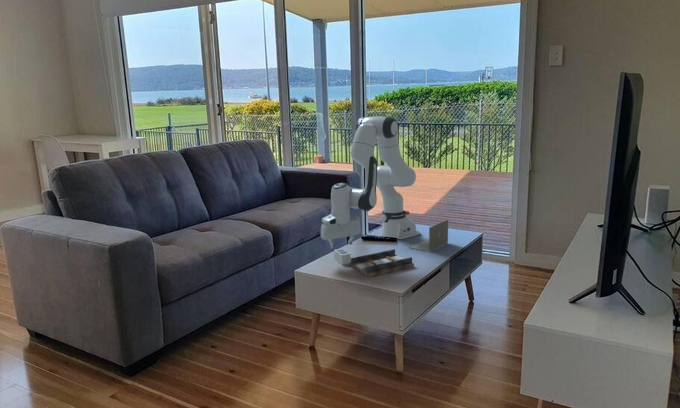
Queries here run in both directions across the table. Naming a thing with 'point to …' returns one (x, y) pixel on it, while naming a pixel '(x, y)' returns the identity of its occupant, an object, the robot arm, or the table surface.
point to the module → (342, 256)
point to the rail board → (380, 263)
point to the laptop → (434, 238)
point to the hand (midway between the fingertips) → (341, 245)
